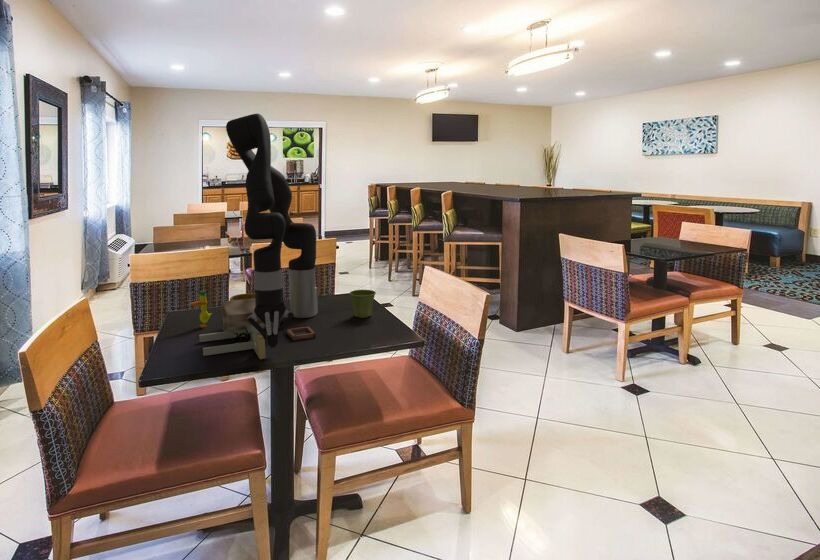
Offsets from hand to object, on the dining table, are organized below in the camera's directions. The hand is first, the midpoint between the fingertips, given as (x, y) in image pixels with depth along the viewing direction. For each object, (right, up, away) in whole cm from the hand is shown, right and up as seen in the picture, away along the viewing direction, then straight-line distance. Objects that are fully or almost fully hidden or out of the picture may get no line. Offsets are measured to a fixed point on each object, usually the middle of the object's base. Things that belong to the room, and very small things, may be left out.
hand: (272, 346), depth 139 cm
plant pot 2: (+22, +5, +41) cm, 46 cm away
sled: (-13, -1, +4) cm, 14 cm away
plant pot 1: (-16, +3, +29) cm, 34 cm away
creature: (-12, -1, +8) cm, 15 cm away
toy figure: (-30, +3, +27) cm, 41 cm away
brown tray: (+4, +1, +18) cm, 18 cm away
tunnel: (-10, 0, +11) cm, 15 cm away
